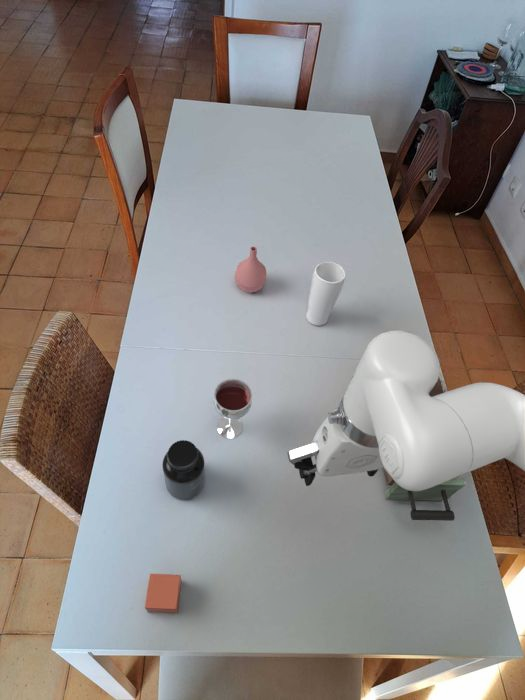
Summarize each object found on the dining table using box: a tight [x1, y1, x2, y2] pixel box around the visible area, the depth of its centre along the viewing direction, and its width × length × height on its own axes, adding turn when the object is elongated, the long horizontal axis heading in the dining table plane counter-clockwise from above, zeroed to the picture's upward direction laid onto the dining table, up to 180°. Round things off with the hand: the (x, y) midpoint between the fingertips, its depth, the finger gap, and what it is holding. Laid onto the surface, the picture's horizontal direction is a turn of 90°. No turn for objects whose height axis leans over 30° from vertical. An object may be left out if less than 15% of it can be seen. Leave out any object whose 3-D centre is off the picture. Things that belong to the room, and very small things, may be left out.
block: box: [144, 573, 182, 614], centre depth 68 cm, size 4×4×4 cm
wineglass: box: [213, 378, 253, 440], centre depth 84 cm, size 7×7×12 cm
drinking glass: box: [305, 261, 347, 327], centre depth 102 cm, size 7×7×15 cm
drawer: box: [384, 468, 466, 522], centre depth 82 cm, size 20×11×8 cm, turn 1°
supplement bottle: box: [162, 439, 206, 501], centre depth 76 cm, size 7×7×12 cm
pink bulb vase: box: [234, 246, 268, 293], centre depth 107 cm, size 8×8×12 cm
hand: (337, 471), depth 67 cm, fingers open, 9 cm apart
